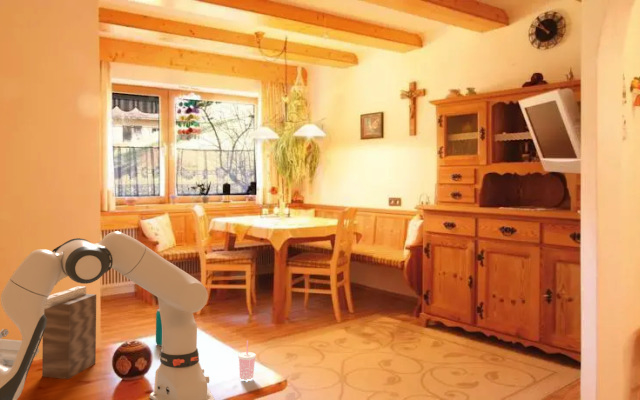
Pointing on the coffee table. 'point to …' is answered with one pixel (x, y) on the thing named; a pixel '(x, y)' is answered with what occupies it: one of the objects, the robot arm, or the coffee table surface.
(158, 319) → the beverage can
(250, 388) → the coffee table surface
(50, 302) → the wooden bar
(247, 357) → the beverage cup
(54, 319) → the wavy grain block
